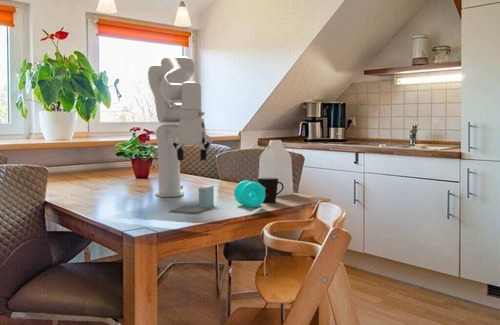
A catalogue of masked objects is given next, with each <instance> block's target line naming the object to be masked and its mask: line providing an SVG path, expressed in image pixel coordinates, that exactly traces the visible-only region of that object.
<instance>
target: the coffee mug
mask: <svg viewBox="0 0 500 325" xmlns="http://www.w3.org/2000/svg"><path fill="white" fill-rule="evenodd" d="M257 183H259V184H261V185H262V186H263V188H264V190H265V199H264V201H263V203H264V204H266V203H267V204H271V203H276V201H277V197H276V195H278V194H279V193H280V192H281V191H282V190H283V188H284V186H283V183H281V182H278V178H273V177H262V178H259V177H257ZM278 183H280V184H281V185H282V189H281V191H279V192H278V193H277V186H278ZM263 203H262V204H263Z"/></svg>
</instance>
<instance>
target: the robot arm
mask: <svg viewBox="0 0 500 325" xmlns="http://www.w3.org/2000/svg"><path fill="white" fill-rule="evenodd" d="M195 67H196V66H195V62H194V60H193V59H192V58H190V57H188V56H180V55H179V56H178V55H177V56H176V55H167V56H164V57H163V58H162V59H161V61H160V63H159V64H157V63H156V64H152V65H151V66H150V67H149V68H148V71H147V79H148V84H149V87H150V89H151V90H150V91H151V93H152V95H153V97H154V104H155V111H156V118H157V121H158V122H159V123H160V124H161V125H159V126H158V127H157V128H156V129H155V130H156V131H155V136H156V137H155V138H156V143H157V155H158V166H157V167H158V172H157V173H158V174H157V175H158V192H155V193H154V195H155V197H163V198H172V197H173V198H176V197H182V196H184V192H183V191H181V190H183V189H184V186H183V185H181V161H183V160H184V149H183V148H184V147H189V146H199V148H200V151H199V152H200V159H199V160H200V161H202V162H203V161H206V160H207V155H208V154H207V150H208V149H209V147H210V146H211V144H212V142H213V140H214V139H213V137H212V136H209V134H206V133H207V132H206V124H205V119H204V118H202V117H203V116H204V115H205V112H204V111H202V86H201V84H200V83H199V82H198V81H197V82H196V81H189V80H190V79H191V78H192V76H193V75H194V74H195Z"/></svg>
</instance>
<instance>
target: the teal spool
mask: <svg viewBox="0 0 500 325" xmlns="http://www.w3.org/2000/svg"><path fill="white" fill-rule="evenodd" d="M233 193H234V194H233V196H234V199H235V200H236V203H238V204H240V205H242V206H246V207H248V208H251V209H254V208H258V207H260V206H261V205H262V204H263V201H264V199H265V190H264V188H263V186H262V185H261V184H259V183H258V181H257V182H256V181H251V180H247V179H246V180H242V181H240V182H239V183H238V184H236V186H235V188H234V191H233Z"/></svg>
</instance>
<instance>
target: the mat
mask: <svg viewBox="0 0 500 325" xmlns="http://www.w3.org/2000/svg"><path fill="white" fill-rule="evenodd" d="M209 210H211V207H199V206H192V205H191V206H187V205H183V206H180V207H177V208H174V209H170V210H169V211H168V213H175V214H177V213H179V214H193V215H194V214H195V215H197V214H201V213H203V212H207V211H209Z"/></svg>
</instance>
